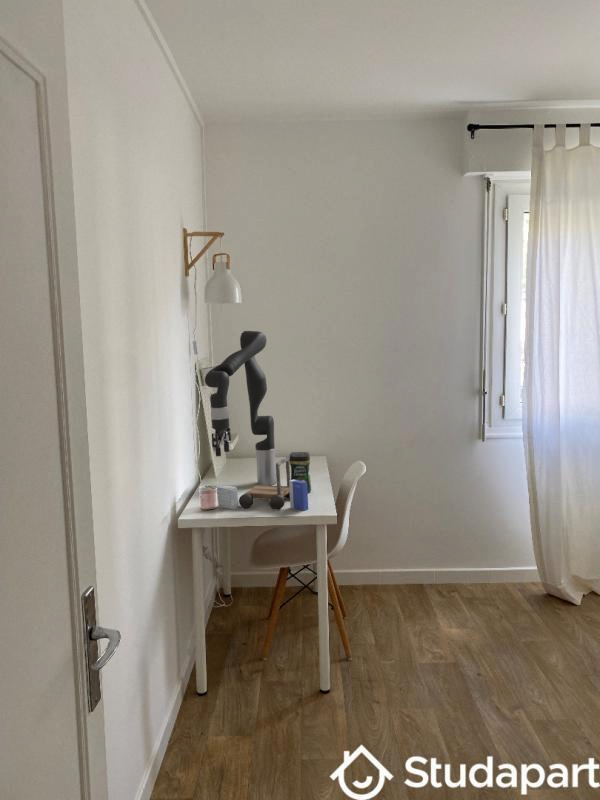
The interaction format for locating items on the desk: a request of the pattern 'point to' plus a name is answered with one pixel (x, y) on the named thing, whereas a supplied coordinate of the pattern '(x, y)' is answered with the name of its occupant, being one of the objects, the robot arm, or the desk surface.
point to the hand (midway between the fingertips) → (222, 453)
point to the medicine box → (227, 497)
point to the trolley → (269, 490)
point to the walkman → (298, 494)
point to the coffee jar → (300, 467)
